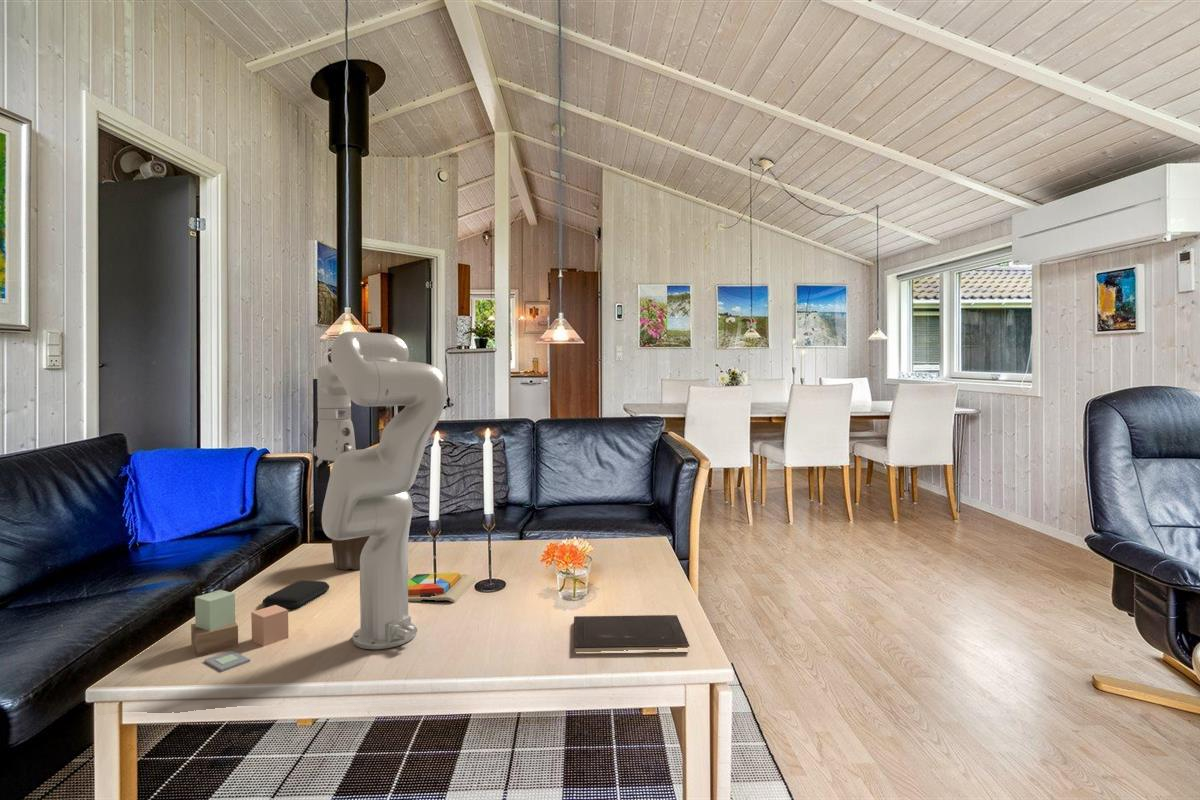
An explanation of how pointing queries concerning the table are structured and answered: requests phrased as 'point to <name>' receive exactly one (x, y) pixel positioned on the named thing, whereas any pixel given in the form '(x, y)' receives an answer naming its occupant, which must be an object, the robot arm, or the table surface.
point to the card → (227, 660)
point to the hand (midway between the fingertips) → (335, 484)
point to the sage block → (214, 610)
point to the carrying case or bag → (296, 594)
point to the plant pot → (348, 552)
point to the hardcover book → (628, 633)
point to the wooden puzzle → (438, 586)
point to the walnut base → (213, 639)
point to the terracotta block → (269, 625)
